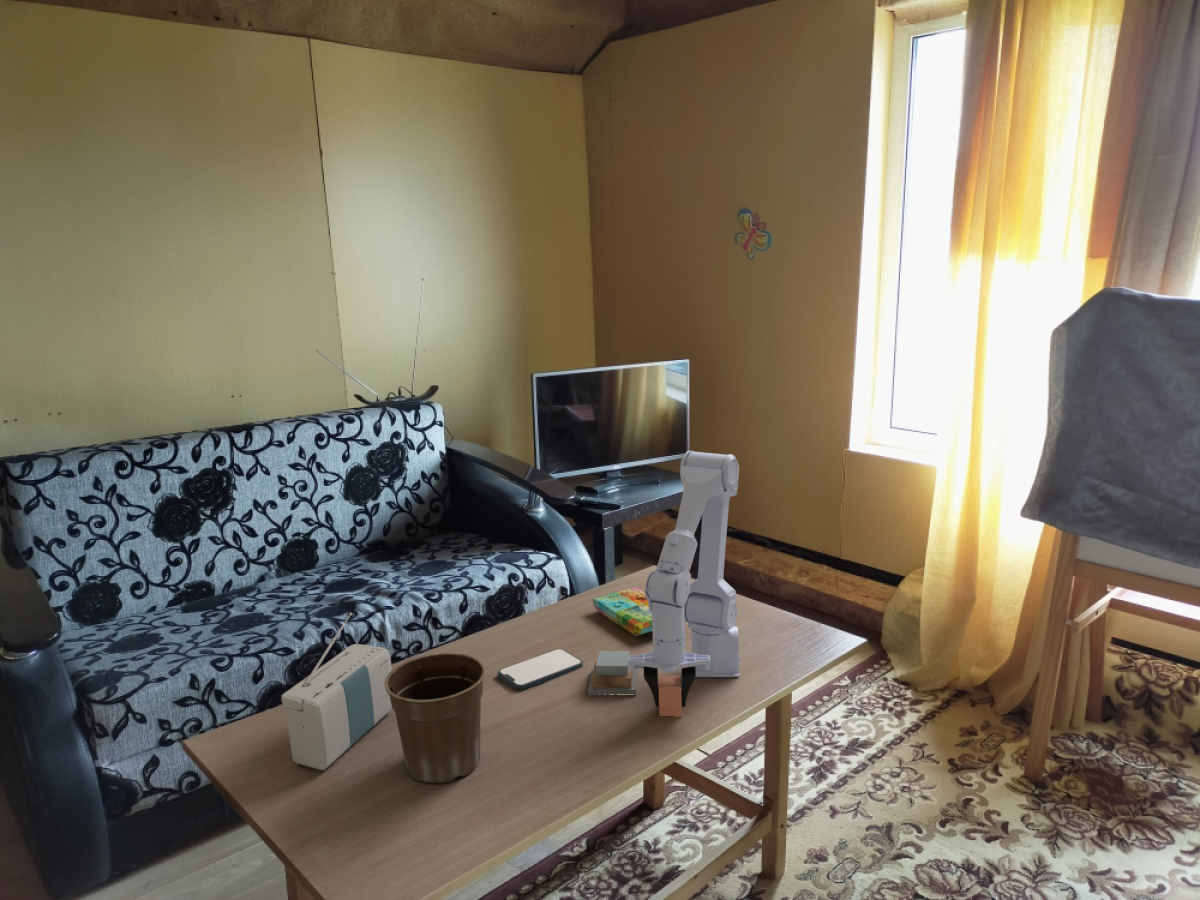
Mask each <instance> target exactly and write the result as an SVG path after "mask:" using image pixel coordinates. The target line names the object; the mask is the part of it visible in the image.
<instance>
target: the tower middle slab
mask: <svg viewBox="0 0 1200 900" xmlns="http://www.w3.org/2000/svg"><path fill="white" fill-rule="evenodd" d="M597 660H598V658H595V660H594V665H593V667H594V669H593V674H592V687H598V688H632V679H633V670H629V672H628V676H605V675H597V674H596V664H597Z"/></svg>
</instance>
